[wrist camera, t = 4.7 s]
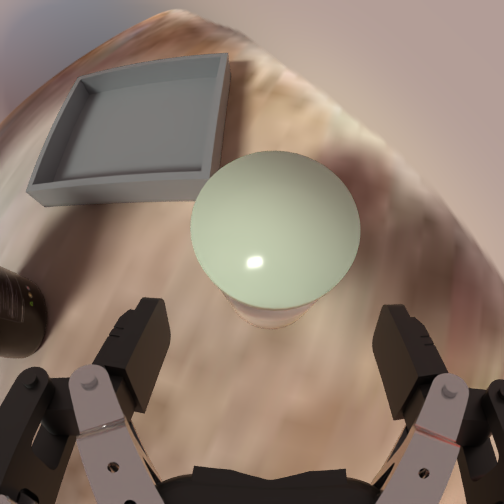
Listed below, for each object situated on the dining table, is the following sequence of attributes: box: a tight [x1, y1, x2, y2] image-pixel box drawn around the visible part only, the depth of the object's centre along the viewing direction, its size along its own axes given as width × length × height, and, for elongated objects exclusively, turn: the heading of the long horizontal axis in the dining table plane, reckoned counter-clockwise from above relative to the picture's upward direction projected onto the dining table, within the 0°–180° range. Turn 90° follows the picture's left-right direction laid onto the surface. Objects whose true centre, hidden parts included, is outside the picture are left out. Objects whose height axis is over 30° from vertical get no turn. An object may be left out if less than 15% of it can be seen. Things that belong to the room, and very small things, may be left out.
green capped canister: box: [190, 151, 360, 329], centre depth 15 cm, size 6×6×10 cm
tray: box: [26, 53, 231, 207], centre depth 23 cm, size 16×14×3 cm
